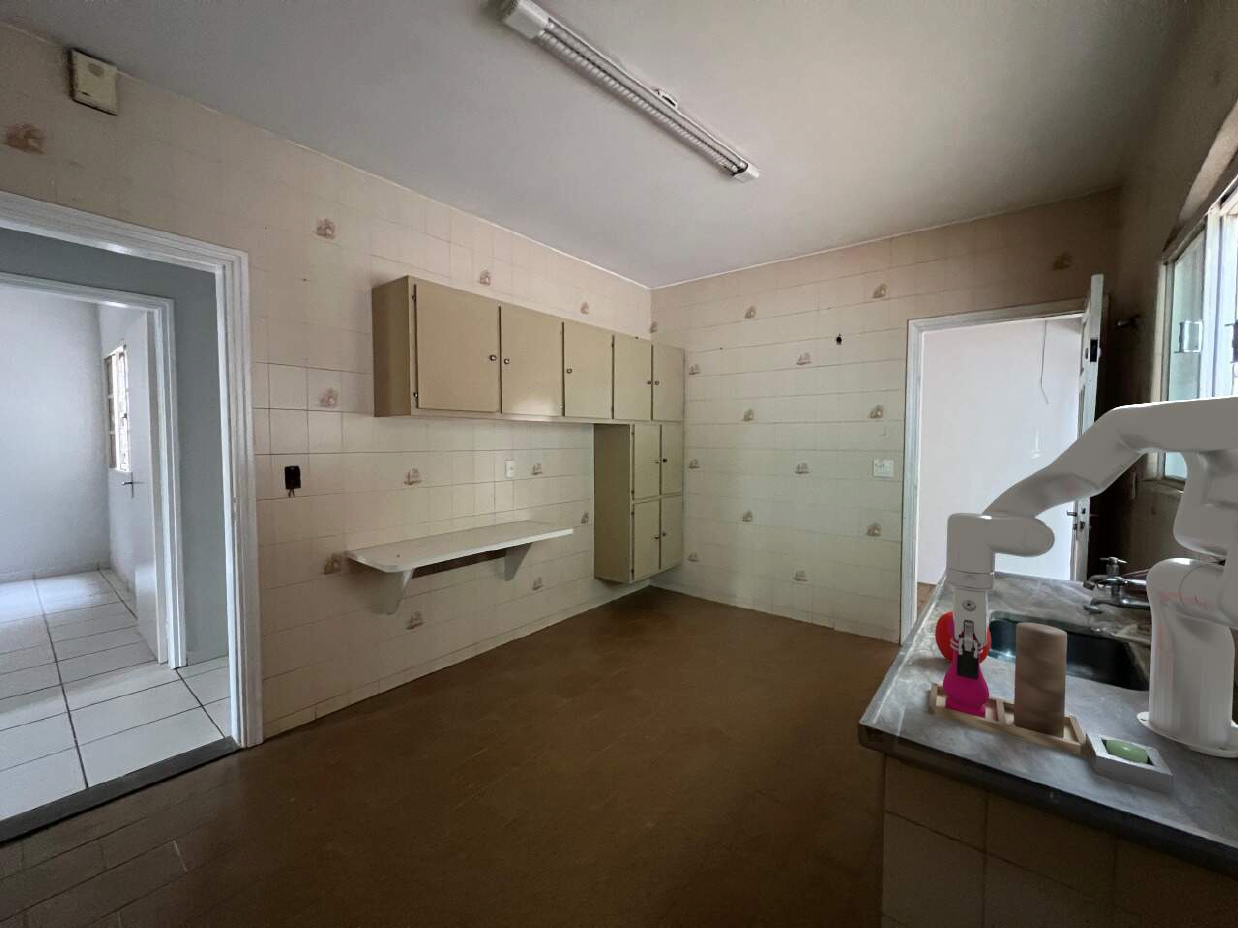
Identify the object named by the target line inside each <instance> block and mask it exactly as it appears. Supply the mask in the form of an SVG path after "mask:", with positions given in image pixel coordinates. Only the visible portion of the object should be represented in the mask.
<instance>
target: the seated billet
mask: <svg viewBox="0 0 1238 928" xmlns="http://www.w3.org/2000/svg"><path fill="white" fill-rule="evenodd" d="M1015 632H1016V633H1015V635H1016V636H1015V668H1014V691H1013V692H1014V693H1013V694H1014V695H1013V702H1014V724H1015V726H1017V727H1021V728H1024V729H1028V730H1032V731H1036V732H1040V733H1044V734H1047V735H1051V736H1055V737H1059V738H1063V737H1064V714H1065V713H1066V712H1065V708H1066V707H1065V705H1066V681H1067V680H1066V678H1067V677H1066V676H1067V654H1068V652H1067V651H1068V649H1067V648H1068V634H1067V632H1066V631H1064V630H1062V629H1060V628H1058V627H1055V626H1050V625H1047V624H1042V623H1034V622H1018V623H1016V630H1015Z"/></svg>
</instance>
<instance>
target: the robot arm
mask: <svg viewBox="0 0 1238 928" xmlns="http://www.w3.org/2000/svg"><path fill="white" fill-rule="evenodd" d="M1149 453H1152V454H1155V453H1156V454H1159V453H1160V454H1163V453H1164V454H1166V453H1167V454H1169V453H1170V454H1173V453H1175V454H1176V453H1179V454H1180V455H1181V456H1182V458H1183V460H1184V462H1185V465H1186V478H1185V483H1184V484H1185V485H1184V488H1183V490H1182V495H1181V499H1180V501H1179V505H1178V509H1177V512H1176V516H1175V520H1174V523H1173V528H1172V532H1173V537H1174V538H1175V539H1174V540H1176V542H1177V543H1178V544H1180V545H1181V547H1184V548H1186V549H1188V550H1191V551H1194V552H1197V553H1200V554H1201V553H1202V554H1205V555H1210V556H1215V557H1219V558H1224V559H1225V563H1224V565H1222V564H1218V563H1213V562H1209V561H1203V560H1200V559H1199V560H1198V559H1193V558H1184V557H1181V558H1180V557H1178V558H1177V557H1175V558H1168V559H1167V558H1166V559H1164V560H1161V561H1159V562H1157V563H1155V564H1154V565H1153V566H1152V567H1151V568H1150V569H1149V570H1148V573H1147V574H1146V580H1145V587H1146V588H1145V589H1146V593H1147V599H1148V602H1149V606H1150V613H1151V642H1150V643H1151V644H1150V645H1151V646H1150V650H1151V651H1150V673H1149V698H1148V699H1149V700H1148V701H1149V702H1148V711H1142V712H1139V713H1137V714H1136V716H1135V717H1136V720H1137V722H1138V723H1139V724H1141V725H1142V726H1143V727H1145V728H1146V729H1148V730H1150V731H1151V732H1153V733H1156V734H1158V735H1159V736H1161V737H1164V738H1167V739H1168V740H1171V741H1175V742H1177V743H1181V744H1182V745H1185V746H1186V747H1187V749H1189V751H1193V752H1196V753H1201V754H1204V755H1208V756H1213V757H1218V758H1219V757H1221V758H1238V724H1236V722H1235V721H1234V720H1233V717H1232V716H1233V695H1234V692H1233V691H1234V670H1235V658H1236V655H1235V653H1236V651H1235V650H1236V647H1235V642H1234V636H1233V633H1232V632H1231V629H1233V630H1235V631H1236V630H1237V631H1238V394H1235V395H1227V396H1215V397H1208V398H1207V397H1204V398H1197V399H1189V400H1188V399H1187V400H1174V401H1160V402H1159V401H1158V402H1151V403H1142V404H1140V403H1139V404H1131V405H1123V406H1119V407H1115V408H1112V409H1110V410H1108V411H1107V412H1105V413H1104V414H1102V415H1101V416H1100V417H1099V418H1098V419H1097V420H1096V421H1094V423H1092V424H1091V425H1090V426H1089V427H1088V428H1087V429H1086V430H1085V431H1084V432H1083V433H1082V434H1081V435H1080V436H1079V437H1078V438H1077V439H1076V440H1075V441H1073V443H1071V445H1069V447H1067V449H1065V450H1064V451H1063V452H1062V453H1061V454H1060V455H1058V457H1057V458H1056V459H1054V461H1052V462H1051V463H1050V464H1048V465H1047V466H1044V467H1043V468H1041V469H1039V470H1037V471H1035V472H1033V473H1032V474H1031V475H1028V476H1026V477H1025V478H1023V479H1022V480H1020V481H1019V482H1016V483H1015V484H1013V485H1012V486H1010V487H1009V488H1007V489H1006V490H1004V491H1003V492H1002V493H1001V494H999V496H998V497H996V498H995V499H994V500H993V501H992V502H990V504H989V505H988V506H987V507H986V508H985V509H984V510H983V511H982V513H973V512H972V513H971V512H955V513H952V514H950V515H949V516H948V518H947V520H946V521H947V523H946V559H945V561H946V562H945V563H946V564H945V584H946V585H947V586H949V587H952V611H953V621H954V633H955V639H956V640H958V641H959V653H957V675H958V676H962V677H966V678H971V679H975V680H977V679H978V668H979V657H977V644H978V642H979V643H980V644H983V646H985V645H987V626H988V616H989V614H988V610H989V606H988V605H989V602H988V598H989V597H988V593H989V592H993V591H995V581H996V580H995V578H996V577H995V576H996V575H995V574H996V573H995V572H996V571H995V570H996V554H1001V555H1007V556H1014V557H1019V558H1020V557H1021V558H1036V557H1040V556H1042V555H1043V556H1044V555H1045V554H1047V553H1049V552H1050V551H1051V550H1052V548H1053V547H1054V545H1055V542H1056V541H1055V540H1056V537H1055V533H1054V531H1053V529H1052V528H1051V527H1050V525H1048V523H1046V522H1045V521H1043V520H1041V519H1039V518H1038V516H1039V515H1041V514H1042V513H1044V512H1047V511H1048V510H1050V509H1053V508H1055V507H1057V506H1060V505H1065V504H1069V503H1072V502H1073V503H1074V502H1077V501H1081V500H1086V499H1088V498H1091V497H1094V496H1097V495H1099V494H1100V495H1101V493H1103V492H1104V491H1105V490H1107V489H1108V487H1110V486H1111V485H1112V484H1113V483H1114V482H1115V481H1116V480H1117V479H1118V478H1119V477H1120V476H1121V475H1122V474H1123V473H1125V472H1126V471H1127V470H1128V469H1129V468H1131V466H1132V465H1133V464H1134V463H1136V462H1137V461H1138V460H1139V459H1140V458H1141V457H1142V456H1143V455H1145V454H1149ZM964 620H965V635H964V638H962V634H961V633H962V631H964ZM1230 628H1231V629H1230ZM973 633H975V640H973ZM977 640H978V641H977ZM962 643H964V644H962ZM973 645H974V646H973ZM962 650H963V652H962ZM962 653H963V654H962Z"/></svg>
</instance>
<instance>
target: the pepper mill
mask: <svg viewBox="0 0 1238 928" xmlns="http://www.w3.org/2000/svg"><path fill="white" fill-rule="evenodd" d="M948 631H949V633H950V635H951V636H952V637H953V638H951V640H950V641H951V644H950V645H951V647H952V648H953V660H952V663H951V662H950V665H949V666H948V668H947V671H946V672H945V674H944V677H943V679H942V685H943V689H944V691H945V693H946V694H947V695H948V696H947V697H946V699H945V708H947V709H951V710H955V711H959V712H963V713H967V714H970V715H974V716H978V717H982V718H985V717H986V708H985V706H984V705H983V704H984V703H986V702H987V701H988V700H989V696H990V688H989V686H988V684H987V681H986V679H985V677H984V675H983V672H982V669H981V663H980V661H979V668H978V679H977V680H975V679H971V678H966V677H962V676H958V675H957V653H959V641H958V640H956V639H955V633H954V621H953V617H952V618H951V619H950V620H949V622H948ZM961 634H962V638H964V635H965V620H964V631H962V633H961ZM973 640H975V633H973ZM977 641H978V640H977ZM962 644H964V643H962ZM973 646H974V645H973ZM982 647H983V645H982V644H980V643H979V642H978V644H977V657H979V658H980V653H982V652H983V650H982ZM962 652H963V650H962ZM962 654H963V653H962Z"/></svg>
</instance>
